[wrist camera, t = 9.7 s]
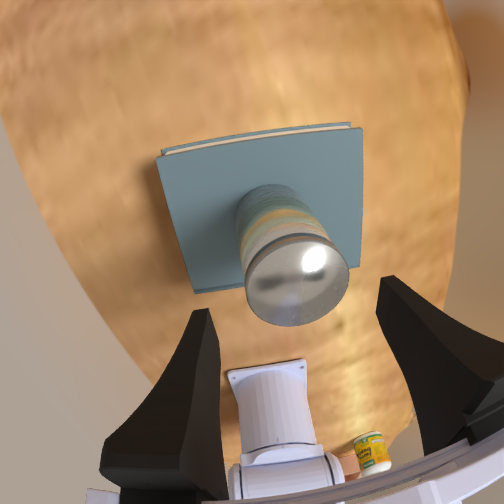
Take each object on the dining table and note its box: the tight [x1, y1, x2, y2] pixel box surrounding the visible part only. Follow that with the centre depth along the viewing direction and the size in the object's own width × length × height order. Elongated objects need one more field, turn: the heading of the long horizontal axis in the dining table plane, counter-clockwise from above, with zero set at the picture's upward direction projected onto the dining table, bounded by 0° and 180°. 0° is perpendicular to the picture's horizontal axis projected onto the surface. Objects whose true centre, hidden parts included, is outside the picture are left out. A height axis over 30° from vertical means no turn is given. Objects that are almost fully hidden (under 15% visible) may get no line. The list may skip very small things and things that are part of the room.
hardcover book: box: [156, 122, 363, 294], centre depth 21 cm, size 10×12×2 cm
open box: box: [338, 454, 362, 482], centre depth 55 cm, size 17×17×4 cm
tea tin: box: [235, 184, 349, 326], centre depth 17 cm, size 5×5×7 cm
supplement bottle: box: [353, 431, 391, 477], centre depth 43 cm, size 5×5×10 cm
